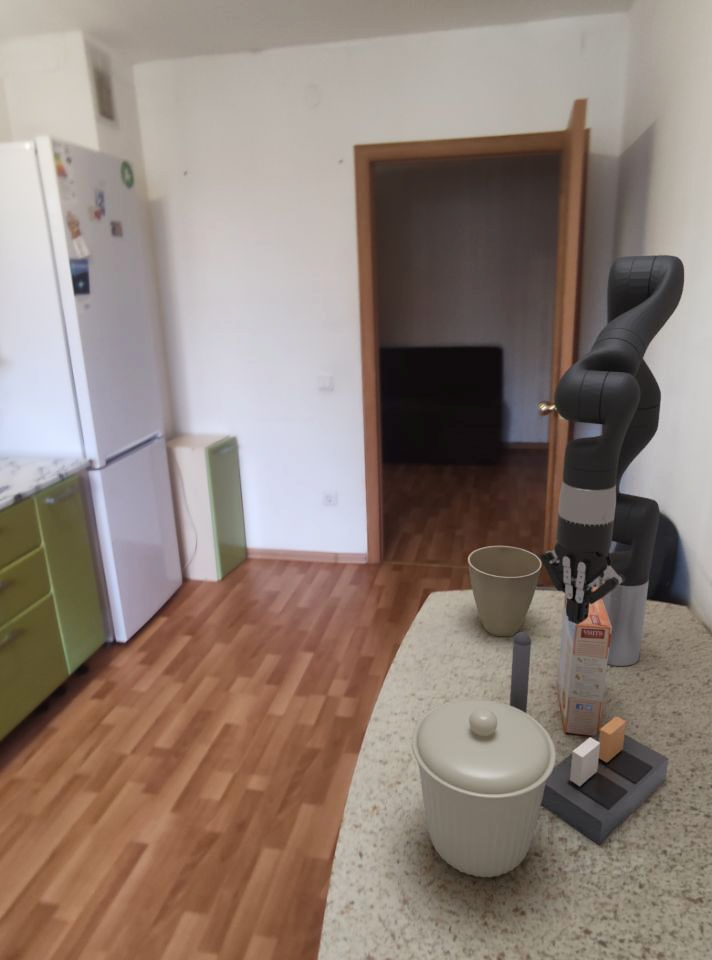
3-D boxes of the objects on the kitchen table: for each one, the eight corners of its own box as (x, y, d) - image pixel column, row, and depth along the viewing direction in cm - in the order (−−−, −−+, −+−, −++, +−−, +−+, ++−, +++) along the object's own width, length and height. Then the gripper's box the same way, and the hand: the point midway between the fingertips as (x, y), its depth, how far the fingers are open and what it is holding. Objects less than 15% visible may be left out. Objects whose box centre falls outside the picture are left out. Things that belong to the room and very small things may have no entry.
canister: (544, 801, 96) (554, 678, 89) (550, 916, 79) (563, 775, 73) (420, 783, 100) (421, 664, 93) (401, 888, 83) (401, 752, 77)
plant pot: (452, 621, 144) (453, 555, 139) (506, 604, 151) (509, 540, 146) (495, 654, 132) (498, 583, 127) (552, 634, 138) (557, 566, 133)
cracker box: (601, 738, 108) (613, 627, 101) (562, 734, 109) (572, 623, 103) (589, 687, 121) (600, 585, 114) (555, 683, 122) (564, 582, 116)
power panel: (604, 745, 107) (607, 723, 105) (665, 780, 99) (668, 756, 98) (537, 801, 96) (539, 778, 94) (599, 845, 88) (602, 820, 87)
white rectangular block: (587, 765, 96) (590, 737, 95) (597, 771, 95) (600, 742, 94) (569, 779, 94) (572, 751, 92) (579, 786, 93) (582, 757, 91)
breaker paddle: (613, 743, 100) (616, 716, 99) (622, 748, 99) (626, 721, 98) (597, 756, 98) (600, 729, 96) (606, 762, 97) (610, 734, 95)
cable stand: (509, 756, 105) (517, 615, 97) (547, 780, 100) (558, 634, 92) (480, 777, 101) (486, 632, 93) (518, 804, 95) (527, 653, 87)
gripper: (644, 518, 90) (631, 629, 95) (561, 495, 100) (553, 597, 105) (615, 533, 86) (602, 648, 91) (531, 506, 95) (524, 612, 101)
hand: (576, 620), depth 98 cm, fingers closed
